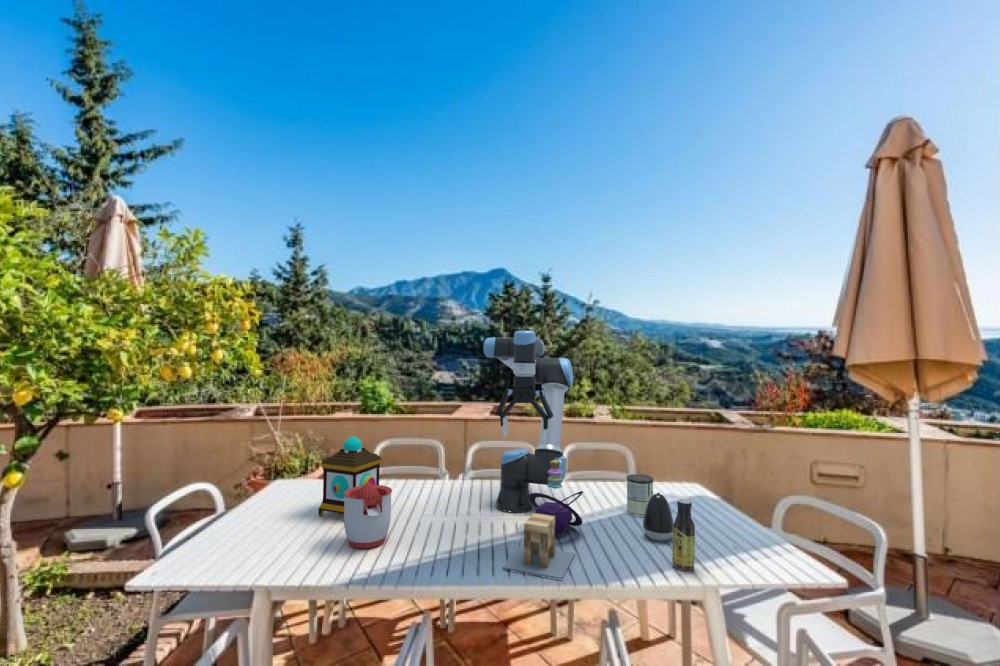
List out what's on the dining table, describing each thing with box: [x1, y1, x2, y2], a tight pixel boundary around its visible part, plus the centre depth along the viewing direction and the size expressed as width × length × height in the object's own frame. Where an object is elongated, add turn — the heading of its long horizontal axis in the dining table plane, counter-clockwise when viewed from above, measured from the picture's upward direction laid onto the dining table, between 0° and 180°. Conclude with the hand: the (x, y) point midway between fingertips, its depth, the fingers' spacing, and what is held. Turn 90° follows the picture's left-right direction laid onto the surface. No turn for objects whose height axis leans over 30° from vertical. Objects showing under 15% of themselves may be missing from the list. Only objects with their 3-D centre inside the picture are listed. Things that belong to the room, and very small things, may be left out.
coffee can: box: [626, 473, 654, 518], centre depth 191 cm, size 10×10×14 cm
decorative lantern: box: [318, 436, 383, 518], centre depth 186 cm, size 20×20×30 cm
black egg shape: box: [642, 491, 674, 542], centre depth 164 cm, size 10×10×15 cm
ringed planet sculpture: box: [529, 460, 584, 535], centre depth 170 cm, size 22×21×25 cm
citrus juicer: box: [343, 482, 393, 549], centre depth 157 cm, size 16×17×20 cm
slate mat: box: [501, 543, 576, 580], centre depth 144 cm, size 18×18×1 cm
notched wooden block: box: [523, 512, 556, 568], centre depth 144 cm, size 10×7×12 cm
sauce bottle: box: [671, 498, 696, 571], centre depth 142 cm, size 6×6×20 cm
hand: (523, 437), depth 162 cm, fingers open, 13 cm apart
